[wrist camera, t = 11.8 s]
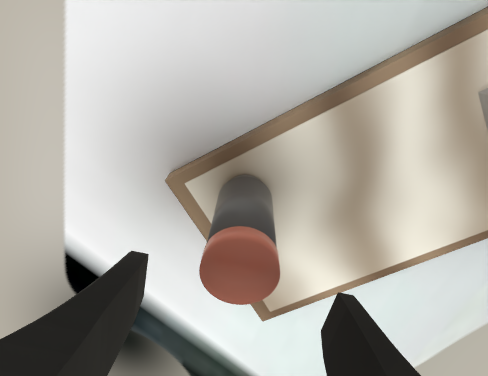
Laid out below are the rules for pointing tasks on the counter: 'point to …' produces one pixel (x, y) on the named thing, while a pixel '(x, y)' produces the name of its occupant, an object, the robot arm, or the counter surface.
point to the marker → (241, 244)
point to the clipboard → (366, 170)
